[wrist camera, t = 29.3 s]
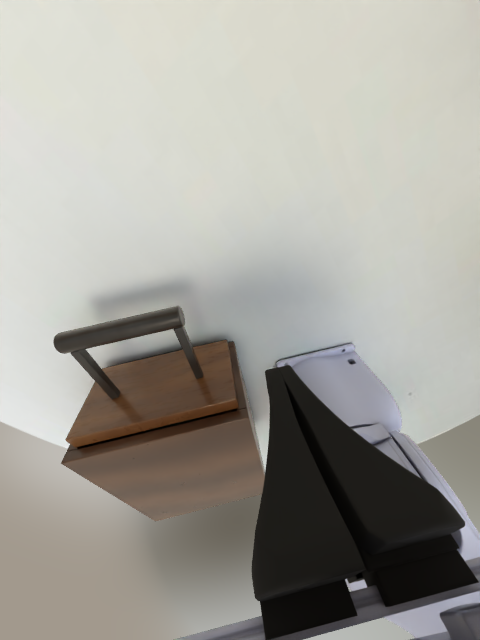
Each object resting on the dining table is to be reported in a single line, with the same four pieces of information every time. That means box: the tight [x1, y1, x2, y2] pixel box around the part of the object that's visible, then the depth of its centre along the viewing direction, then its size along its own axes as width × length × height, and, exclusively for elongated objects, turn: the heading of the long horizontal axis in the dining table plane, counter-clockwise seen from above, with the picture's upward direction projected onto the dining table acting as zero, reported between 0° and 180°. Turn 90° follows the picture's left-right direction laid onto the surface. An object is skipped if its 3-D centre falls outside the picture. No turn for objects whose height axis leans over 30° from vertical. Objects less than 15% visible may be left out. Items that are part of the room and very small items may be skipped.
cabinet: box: [61, 342, 265, 521], centre depth 23 cm, size 17×14×9 cm
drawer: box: [54, 306, 239, 447], centre depth 20 cm, size 22×12×7 cm, turn 10°
